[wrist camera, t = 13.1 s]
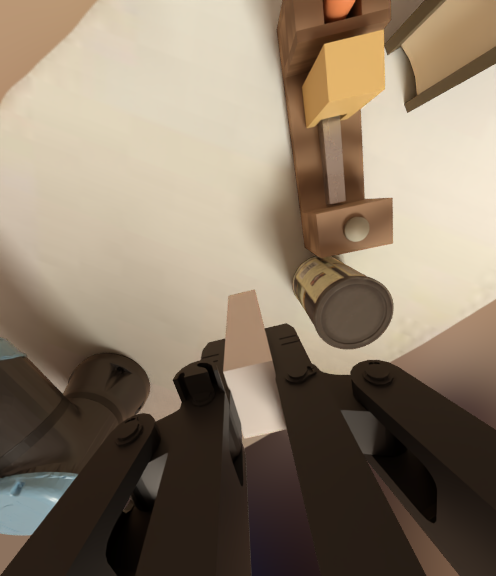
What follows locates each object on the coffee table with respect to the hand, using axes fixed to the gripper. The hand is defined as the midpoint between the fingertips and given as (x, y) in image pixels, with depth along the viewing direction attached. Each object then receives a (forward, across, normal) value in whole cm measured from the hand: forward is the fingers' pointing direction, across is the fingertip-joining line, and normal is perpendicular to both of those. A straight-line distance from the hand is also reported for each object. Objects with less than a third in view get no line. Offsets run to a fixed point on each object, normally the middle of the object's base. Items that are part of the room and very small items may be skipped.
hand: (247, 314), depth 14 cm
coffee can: (+30, +13, -10) cm, 34 cm away
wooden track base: (+29, +16, +12) cm, 35 cm away
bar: (+28, +16, +11) cm, 34 cm away
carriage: (+27, +17, +16) cm, 36 cm away
